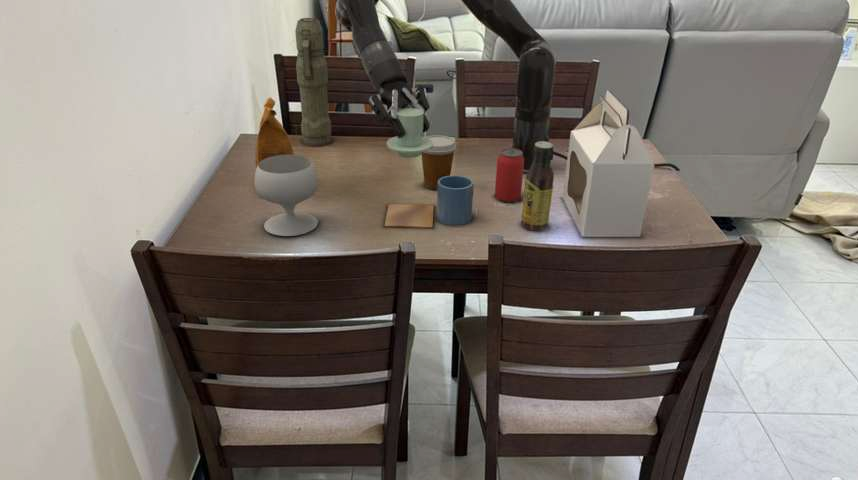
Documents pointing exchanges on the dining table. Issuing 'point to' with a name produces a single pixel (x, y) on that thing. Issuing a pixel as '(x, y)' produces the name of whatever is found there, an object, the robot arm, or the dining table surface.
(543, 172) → the sauce bottle
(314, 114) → the stone tiki statue
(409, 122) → the pale green top hat
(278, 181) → the chalice
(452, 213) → the blue cup
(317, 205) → the dining table surface
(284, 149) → the coffee package
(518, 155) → the beer can
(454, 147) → the disposable coffee cup
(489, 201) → the dining table surface
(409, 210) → the cork mat
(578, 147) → the gable box
